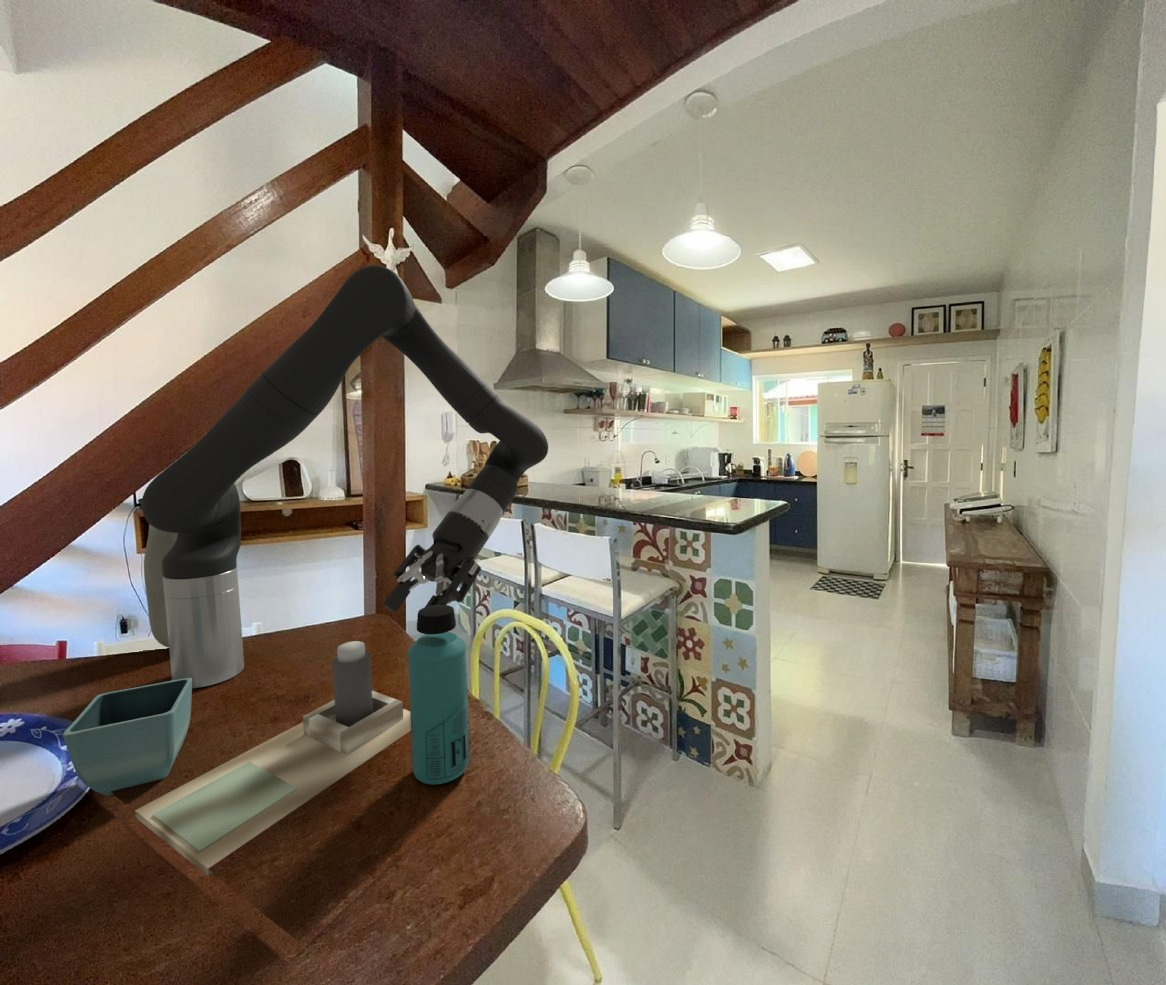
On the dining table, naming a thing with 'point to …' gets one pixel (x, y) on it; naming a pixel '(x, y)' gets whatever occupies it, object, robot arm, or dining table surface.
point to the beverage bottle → (438, 698)
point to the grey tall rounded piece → (157, 581)
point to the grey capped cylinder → (352, 683)
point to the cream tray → (269, 781)
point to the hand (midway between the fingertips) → (405, 615)
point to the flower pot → (130, 735)
